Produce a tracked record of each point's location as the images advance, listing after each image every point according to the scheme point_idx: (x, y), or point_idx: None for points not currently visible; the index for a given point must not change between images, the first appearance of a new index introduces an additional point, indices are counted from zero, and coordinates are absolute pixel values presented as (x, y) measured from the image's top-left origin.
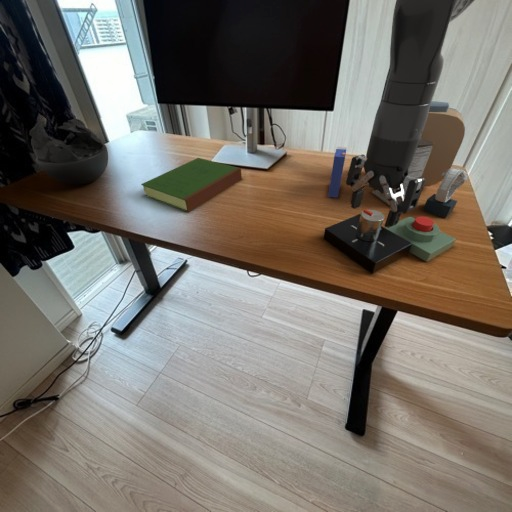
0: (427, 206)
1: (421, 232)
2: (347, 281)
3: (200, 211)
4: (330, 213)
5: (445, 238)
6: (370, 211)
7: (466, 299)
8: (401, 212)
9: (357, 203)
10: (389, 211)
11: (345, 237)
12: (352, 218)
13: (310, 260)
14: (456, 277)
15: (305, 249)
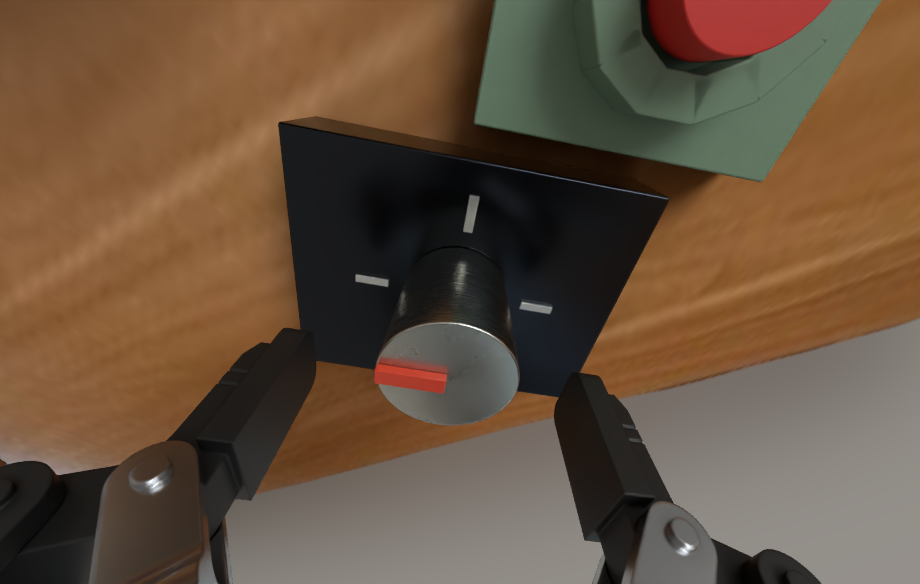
0: None
1: (727, 85)
2: (513, 411)
3: (4, 446)
4: (143, 128)
5: None
6: (410, 357)
7: (865, 273)
8: (666, 498)
9: (299, 384)
10: (584, 529)
11: None
12: (301, 212)
13: (389, 411)
14: (857, 178)
15: (340, 390)
